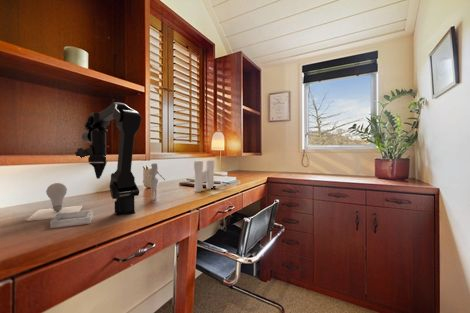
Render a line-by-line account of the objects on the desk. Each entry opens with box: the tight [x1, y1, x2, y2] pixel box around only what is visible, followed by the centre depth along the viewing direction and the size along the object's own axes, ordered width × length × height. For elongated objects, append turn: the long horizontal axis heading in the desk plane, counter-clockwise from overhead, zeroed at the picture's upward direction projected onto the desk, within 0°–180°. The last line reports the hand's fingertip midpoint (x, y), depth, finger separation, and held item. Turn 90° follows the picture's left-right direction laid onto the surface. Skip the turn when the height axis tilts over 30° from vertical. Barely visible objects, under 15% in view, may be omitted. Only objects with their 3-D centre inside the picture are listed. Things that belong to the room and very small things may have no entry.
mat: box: [26, 205, 83, 222], centre depth 85 cm, size 14×14×1 cm
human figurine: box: [142, 163, 166, 201], centre depth 108 cm, size 12×4×18 cm, turn 141°
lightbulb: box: [45, 182, 68, 212], centre depth 85 cm, size 6×6×11 cm
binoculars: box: [193, 159, 215, 193], centre depth 138 cm, size 17×5×18 cm, turn 151°
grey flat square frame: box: [49, 209, 94, 229], centre depth 76 cm, size 10×10×2 cm
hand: (99, 177), depth 99 cm, fingers open, 9 cm apart
